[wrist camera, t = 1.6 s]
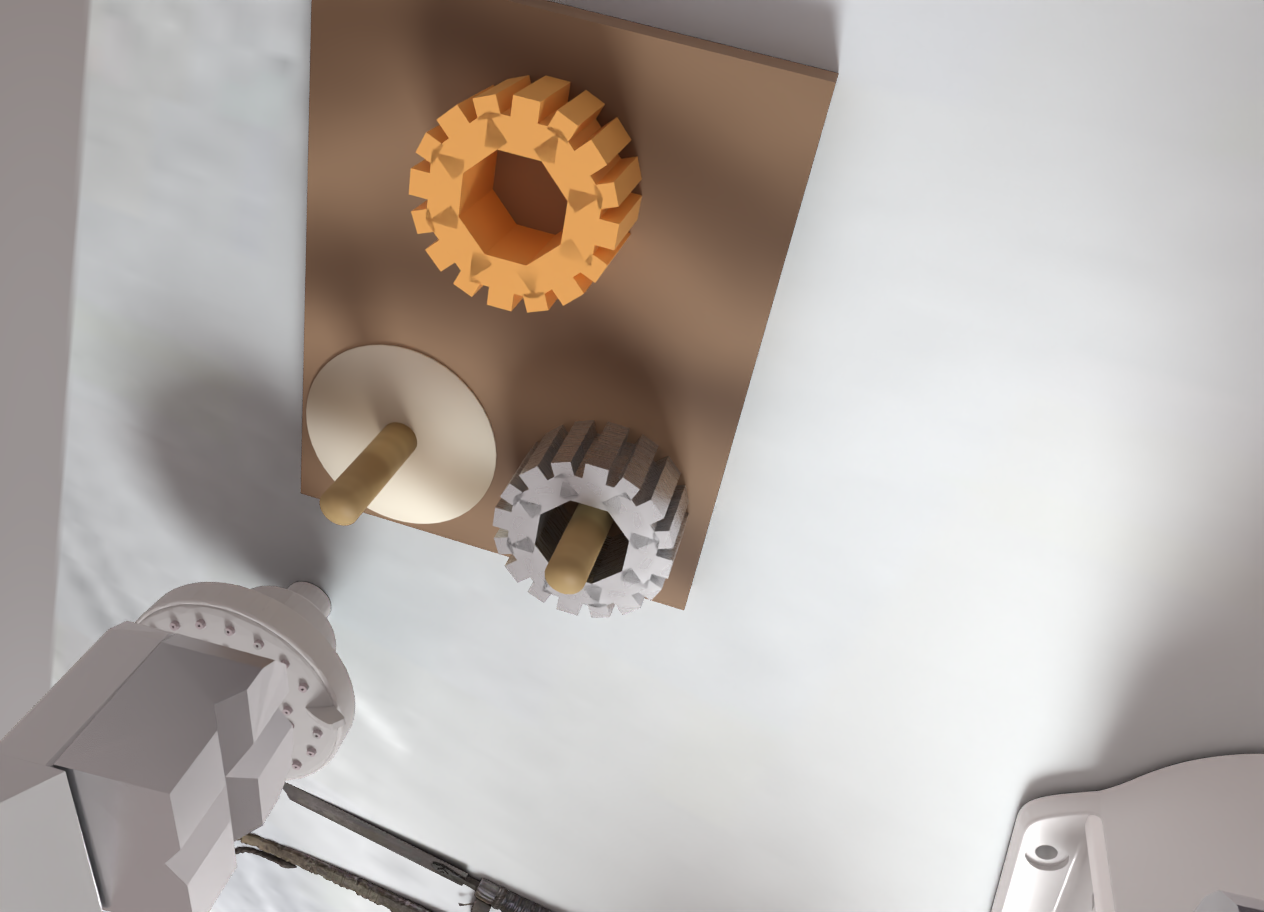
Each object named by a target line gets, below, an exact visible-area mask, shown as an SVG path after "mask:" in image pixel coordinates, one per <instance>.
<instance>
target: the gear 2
mask: <svg viewBox="0 0 1264 912" xmlns="http://www.w3.org/2000/svg"><path fill="white" fill-rule="evenodd" d="M629 429H630V428H629V427H626V426H622V425H619V424H615V423H612V422H607V424H606V426H605V428H604V430H603V432H602V434H598V433H597V431H596V426H595V422H594V420H589V421H575V423H574V425H573V426H572V428H571V430H570V432H569V433H568V431H567V430H566V428H565V427H564V426H563V425H561V426H559V427H557V428H555V429H553V430H551V431H550V432H548V433H546V434H545V435H544V437H543V438H542V440H541V442H540V443H538V442H536V443H535V444H534V446H533V447H532V448H531V450H530V451H529V452H528V454H527V455H526V457H525V458H524V460H523V462H522V463H521V465H520V466H519V468H518V469H517V471H516V472H515V474H514V476H513V477H512V479H511V480H510V482H509V483H508V485H507V486H506V488H505V490H504V491H503V493H502V494H501V496H500V497H501V499H500V501H499V502H498V504H497V505H496V507H495V512H494V519H493V526H495V527H498V528H500V529H499V530H498V532H497V533H496V535H495V537H494V540H495V543H496V547H497V550H498V553H499V554H511V556H510V557H509V559H508V561H507V563H506V564H505V567H506V568H507V570H508V571H509V572H510V574H511V575H512V576H513V577H514V579H515V580H516V581H517V583H518V582H520V581H522V580H525V579H527V578H529V577H531V579H532V580H533V583H532V585H531V587H530V589H529V591H528V592H529V593H530V594H532V595H533V596H535V597H536V598H538V599H539V600H540V601H542V602H543V603H544V602H545V601H546V600H547V598H548V597H549V596H550V595H551V594H552V595H556V596H559V599H558V604H557V609H558V610H561V611H564V612H568V613H571V614H574V615H577V616H578V613H579V611H580V609H581V607H582V604H585V605H588V607H589V611H590V615H591V617H610V615H611V613H612V610H613V608H614V605H616V607H617V608H618V609H619V611H620V612H621V613H622V615H624V614H626V613H629V612H631V611H634V610H636V609H639V608H641V606H642V603H643V600H644V598H645V597H646V598H648V599H649V600H650V601H651V600H652V599H653V598H654V597H655V596H656V595H657V594H658V593H659V592H660V590H661V589H662V587H663V584H664V581H665V578H667V579H668V577H669V574H670V571H671V568H672V565H673V562H674V559H675V556H676V553H677V550H678V547H679V544H680V542H681V539H682V536H683V533H684V529H685V526H686V522H687V518H688V515H689V513H685V511H686V509H687V506H688V503H689V500H688V495H687V490H686V485H677V482H678V479H679V477H680V474H681V473H680V471H679V470H678V468H677V467H676V465H675V464H674V462H673V461H672V459H671V458H670V456H667V457H665V458H663V459H660V460H658V461H656V462H655V461H654V460H653V458H654V456H655V453H656V451H657V449H658V446H659V445H657V444H656V443H654V442H653V441H652V440H650V439H649V438H647V437H646V436H645V435H643V434H642V436H641V437H640V438H639V439H638V441H637V442H636V443H635V444H632V443H629V442H627V438H628V433H629ZM676 485H677V486H676ZM570 500H571V501H574V502H578V503H581V504H584V505H588V506H591V507H595V508H598V509H601V510H605V511H608V512H609V514H610V515H611V517H612V518H613V519H614V521H615V522H616V524H617V525H618V526H619V528H620V529H621V530H622V533H620V534H618V535H615V536H613V537H612V536H608V535H607V537H606V539H605V541H604V543H603V545H602V548H601V550H600V552H599V554H598V557H597V559H596V561H595V563H594V566H593V568H592V570H591V572H590V575H589V577H588V579H587V581H586V583H585V586H584V588H583V589H582V590H581V591H580V592H578V593H575V594H563V593H560V592H558V591H556V590H554V589H553V588H552V587H551V586H550V585H549V584H548V583H547V581H546V579H545V569H546V567H547V565H548V563H549V561H550V559H551V557H552V555H553V553H554V551H555V549H556V547H557V545H558V543H559V541H560V539H561V537H562V535H563V533H564V531H565V529H566V528H567V526H568V524H569V522H570V520H571V518H572V516H571V515H570V514H569V512H568V511H567V509H566V508H565V507H564V505H563V504H564V503H566V502H568V501H570Z"/></svg>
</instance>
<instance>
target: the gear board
mask: <svg viewBox="0 0 1264 912" xmlns="http://www.w3.org/2000/svg"><path fill="white" fill-rule="evenodd" d="M838 74H839V73H835V72H831V71H827V70H823V69H819V68H815V67H811V66H807V65H803V64H799V63H795V62H791V61H787V60H783V59H779V58H775V57H771V56H767V55H763V54H759V53H755V52H751V51H747V50H743V49H739V48H735V47H731V46H727V45H723V44H719V43H715V42H711V41H707V40H703V39H699V38H695V37H691V36H687V35H683V34H679V33H675V32H671V31H667V30H663V29H659V28H655V27H651V26H647V25H643V24H639V23H635V22H631V21H627V20H623V19H619V18H615V17H611V16H607V15H603V14H599V13H595V12H591V11H587V10H583V9H579V8H575V7H571V6H567V5H563V4H559V3H555V2H551V1H547V0H312V6H311V51H310V96H309V141H308V187H307V232H306V277H305V323H304V368H303V413H302V458H301V494H305V495H308V496H311V497H314V498H318V499H320V508H321V510H322V512H323V514H324V515H325V516H326V517H327V518H328V519H329V520H330V521H332V522H333V523H335V524H338V525H344V526H346V525H350V524H353V523H354V522H355V521H356V520H357V519H358V517H359V516H360V515H361V514H362V513H363V512H364V513H367V514H370V515H373V516H377V517H380V518H383V519H387V520H390V521H393V522H396V523H400V524H403V525H406V526H409V527H413V528H416V529H419V530H423V531H426V532H429V533H432V534H436V535H439V536H442V537H445V538H449V539H452V540H455V541H459V542H462V543H465V544H468V545H472V546H475V547H478V548H481V549H485V550H488V551H491V552H495V553H498V550H497V547H496V543H495V540H494V537H495V535H496V533H497V532H498V530H499V529H500V528H498V527H495V526H493V519H494V512H495V507H496V505H497V504H498V502H499V501H500V499H501V497H500V496H501V494H502V493H503V491H504V490H505V488H506V486H507V485H508V483H509V482H510V480H511V479H512V477H513V476H514V474H515V472H516V471H517V469H518V468H519V466H520V465H521V463H522V462H523V460H524V458H525V457H526V455H527V454H528V452H529V451H530V450H531V448H532V447H533V446H534V444H535V443H536V442H538V443H540V442H541V440H542V438H543V437H544V435H545V434H546V433H548V432H550V431H551V430H553V429H555V428H557V427H559V426H561V425H563V426H564V427H565V428H566V430H567V431H568V433H569V432H570V430H571V428H572V426H573V425H574V423H575V421H589V420H594V422H595V426H596V431H597V433H598V434H602V432H603V430H604V428H605V426H606V424H607V422H612V423H615V424H619V425H622V426H626V427H629V428H630V429H629V433H628V438H627V442H629V443H632V444H635V443H636V442H637V441H638V439H639V438H640V437H641V436H642V434H643V435H645V436H646V437H647V438H649V439H650V440H652V441H653V442H654V443H656V444H657V445H659V446H658V449H657V451H656V453H655V456H654V458H653V460H654V461H655V462H656V461H658V460H660V459H663V458H665V457H667V456H670V458H671V459H672V461H673V462H674V464H675V465H676V467H677V468H678V470H679V471H680V473H681V474H680V477H679V479H678V482H677V485H686V490H687V495H688V500H689V503H688V506H687V509H686V511H685V513H689V515H688V518H687V522H686V526H685V529H684V533H683V536H682V539H681V542H680V544H679V547H678V550H677V553H676V556H675V559H674V562H673V565H672V568H671V571H670V574H669V577H668V579H667V578H665V581H664V584H663V587H662V589H661V590H660V592H659V593H658V594H657V595H656V596H655V597H654V598H653V599H652V601H655V602H658V603H662V604H665V605H668V606H671V607H675V608H678V609H681V610H684V608H685V605H686V602H687V598H688V595H689V592H690V588H691V585H692V582H693V578H694V575H695V571H696V568H697V564H698V561H699V557H700V554H701V550H702V547H703V543H704V540H705V536H706V533H707V529H708V526H709V522H710V519H711V515H712V512H713V509H714V505H715V502H716V498H717V495H718V491H719V488H720V484H721V481H722V477H723V474H724V470H725V467H726V463H727V460H728V456H729V453H730V449H731V446H732V442H733V439H734V435H735V432H736V429H737V425H738V422H739V418H740V415H741V411H742V408H743V404H744V401H745V397H746V394H747V390H748V387H749V383H750V380H751V376H752V373H753V369H754V366H755V362H756V359H757V355H758V352H759V349H760V345H761V342H762V338H763V335H764V331H765V328H766V324H767V321H768V317H769V314H770V310H771V307H772V303H773V300H774V296H775V293H776V289H777V286H778V282H779V279H780V275H781V272H782V269H783V265H784V262H785V258H786V255H787V251H788V248H789V244H790V241H791V237H792V234H793V230H794V227H795V223H796V220H797V216H798V213H799V209H800V206H801V202H802V199H803V195H804V192H805V189H806V185H807V182H808V178H809V175H810V171H811V168H812V164H813V161H814V157H815V154H816V150H817V147H818V143H819V140H820V136H821V133H822V129H823V126H824V122H825V119H826V115H827V112H828V109H829V105H830V102H831V98H832V95H833V91H834V88H835V84H836V81H837V77H838ZM527 75H529V76H530V81H531V84H532V83H534V82H535V81H537V80H539V79H540V78H542V77H544V76H545V75H546V76H550V77H554V78H557V79H561V80H565V81H569V82H571V84H570V90H569V97H568V102H570V101H571V100H572V99H574V98H575V97H577V96H578V95H579V94H581V93H582V92H584V91H585V90H587V91H588V92H590V93H591V94H592V95H594V96H595V97H596V98H598V99H599V100H600V101H602V102H603V103H604V104H605V105H604V107H603V108H602V110H601V111H600V113H599V115H598V116H597V118H596V120H597V121H598V123H599V124H600V126H601V127H603V126H604V125H606V124H607V123H609V122H610V121H612V120H613V119H615V118H616V117H618V119H619V121H620V122H621V124H622V125H623V127H624V129H625V130H626V132H627V133H628V135H629V137H630V138H631V141H630V142H629V143H628V144H627V145H626V146H625V147H624V148H623V149H622V150H621V151H620V152H619V153H618V155H619V156H620V158H621V159H623V158H629V157H636V156H638V161H639V167H640V172H641V177H642V179H641V181H640V182H639V183H638V184H637V185H636V187H635V188H634V189H633V190H632V191H631V193H635V194H638V195H642V199H641V203H640V208H639V213H638V218H637V221H636V222H635V223H634V225H633V226H632V227H631V229H630V230H629V231H628V232H629V233H630V236H629V237H628V239H627V240H626V242H625V243H624V244H623V246H622V247H621V249H620V250H619V252H618V253H617V254H616V256H615V257H614V258H613V260H612V261H611V262H610V264H609V265H608V266H607V268H606V269H605V270H604V272H603V273H602V275H601V276H600V277H599V279H598V280H597V281H596V283H594V282H592V284H591V285H590V286H589V288H588V289H587V290H586V292H585V293H584V294H583V295H581V296H579V297H578V298H576V299H574V300H572V301H571V302H569V303H567V304H566V305H564V306H563V305H562V303H561V302H560V300H559V299H557V300H556V301H555V303H554V304H553V305H552V306H551V308H550V309H549V310H547V311H537V312H528V313H527V310H526V306H525V302H524V298H523V299H522V300H521V301H520V302H519V303H518V304H517V306H516V307H515V308H514V309H513V310H512V311H508V310H504V309H501V308H497V307H494V306H490V305H487V299H488V291H489V287H488V286H484V285H483V286H482V287H481V288H480V289H479V290H478V291H477V292H476V293H475V294H474V295H473V296H472V297H471V296H470V295H468V294H467V293H465V292H464V291H463V290H461V289H460V288H458V287H457V286H456V285H454V284H453V283H454V281H455V280H456V278H457V276H458V275H459V273H460V271H461V270H460V269H459V267H458V266H457V265H456V263H453V264H452V265H450V266H449V267H447V268H446V269H444V270H443V271H440V270H439V269H438V267H437V266H436V264H435V263H434V262H433V260H432V259H431V257H430V256H429V255H428V253H427V252H426V250H425V249H426V248H428V247H429V246H430V245H431V244H433V243H434V242H435V241H436V240H438V238H437V236H436V235H435V234H434V232H429V233H421V234H417V230H416V227H415V224H414V220H413V217H412V213H411V211H412V210H414V209H415V208H416V207H418V206H419V205H421V204H422V203H423V202H425V201H426V200H428V199H424V198H420V197H417V196H413V195H409V184H410V170H411V168H412V167H413V166H415V165H416V164H418V163H420V162H421V161H423V160H425V159H424V158H423V157H421V156H420V155H419V154H417V153H416V150H417V148H418V147H419V145H420V143H421V141H422V139H423V137H424V135H425V133H426V132H428V131H429V130H431V129H433V128H435V127H436V126H438V125H440V124H439V123H438V121H437V119H438V118H439V117H441V116H442V115H443V114H445V113H446V112H447V111H449V110H450V109H452V108H453V107H454V106H456V105H457V104H459V103H461V102H463V101H464V100H466V99H468V98H470V97H472V96H474V95H475V94H477V93H479V92H481V91H483V90H485V89H486V88H488V87H490V86H492V85H494V86H496V85H498V84H500V83H501V82H503V81H505V80H507V79H510V78H516V77H521V76H527ZM493 190H494V192H495V193H496V195H497V196H498V198H499V199H500V201H501V202H502V203H503V205H504V206H505V208H506V209H507V211H508V212H509V214H510V215H511V217H512V218H513V220H514V221H515V223H516V224H517V225H521V226H525V227H528V228H532V229H536V230H539V231H543V232H547V233H550V234H554V235H556V234H557V233H559V232H561V231H562V230H563V227H564V221H565V215H566V209H567V202H568V201H567V200H566V198H565V196H564V195H563V193H562V192H561V190H560V189H559V187H558V186H557V184H556V183H555V181H554V180H553V178H552V177H551V175H550V174H549V172H548V171H547V169H546V167H545V166H544V164H543V163H542V161H539V160H535V159H531V158H528V157H524V156H520V155H516V154H512V153H509V152H505V151H501V150H498V151H497V159H496V167H495V176H494V184H493ZM677 485H676V486H677ZM563 505H564V507H565V508H566V509H567V511H568V512H569V514H570V515H571V516H572V518H571V520H570V522H569V524H568V526H567V528H566V529H565V531H564V533H563V535H562V537H561V539H560V541H559V543H558V545H557V547H556V549H555V551H554V553H553V555H552V557H551V559H550V561H549V563H548V565H547V567H546V569H545V579H546V581H547V583H548V584H549V585H550V586H551V587H552V588H553V589H554V590H556V591H558V592H560V593H563V594H575V593H578V592H580V591H581V590H582V589H583V588H584V586H585V583H586V581H587V579H588V577H589V575H590V572H591V570H592V568H593V566H594V563H595V561H596V559H597V557H598V554H599V552H600V550H601V548H602V545H603V543H604V541H605V539H606V537H607V535H608V536H612V537H613V536H615V535H618V534H620V533H622V530H621V529H620V528H619V526H618V525H617V524H616V522H615V521H614V519H613V518H612V517H611V515H610V514H609V512H608V511H605V510H601V509H598V508H595V507H591V506H588V505H584V504H581V503H578V502H574V501H571V500H570V501H568V502H566V503H564V504H563ZM498 554H499V553H498ZM501 555H504V556H508V557H510V556H511V554H501ZM645 599H648V598H646V597H645Z"/></svg>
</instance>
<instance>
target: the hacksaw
mask: <svg viewBox="0 0 1264 912" xmlns="http://www.w3.org/2000/svg"><path fill="white" fill-rule="evenodd" d="M283 790H284V791H285V792H286V793H287V795H288V797H289V798H290V800H292V801H294V802H296V803H298V804H300V805H302V806H304V807H306V808H308V809H310V810H312V811H314V812H316V813H318V814H320V815H322V816H324V817H326V818H328V819H330V820H332V821H334V822H336V823H338V824H340V825H342V826H344V827H346V828H348V829H350V830H352V831H354V832H356V833H358V834H360V835H362V836H363V837H365V838H367V839H369V840H371V841H373V842H375V843H377V844H379V845H381V846H383V847H385V848H387V849H389V850H391V851H393V852H395V853H397V854H399V855H401V856H403V857H405V858H407V859H409V860H411V861H413V862H415V863H417V864H419V865H421V866H423V867H425V868H427V869H429V870H431V871H433V872H435V873H437V874H439V875H441V876H443V877H445V878H447V879H449V880H451V881H453V882H455V883H457V884H459V885H461V886H462V885H463V884H465V885H467V886H468V887H470V888H472V889H473V890H475V896H476V900H475V902H474V903H469V904H461V903H459V906H464V905H472V904H473V906H472V909H471V912H489V911H490V908H491V906H492V907H493V908H494V909H500V910H501V912H552V911H550V910H547V909H546V908H544V907H542V906H540V905H538V904H536V903H534V902H532V901H530V900H527V899H525V898H523V897H521V896H519V895H517V894H515V893H513V892H510V891H508V890H507V889H506V888H504V887H500V886H498V885H496V884H494V883H492V882H491V881H489V880H487V879H484V878H483V879H482V880H481V881H480V882H479V881H477V880H475V879H473V878H471V877H469V876H467V875H468V873H466V872H464V871H462V870H460V869H458V868H456V867H454V866H452V865H450V864H448V863H447V862H444V861H442V860H440V859H438V858H436V857H434V856H432V855H430V854H428V853H426V852H424V851H422V850H420V849H418V848H415V847H414V846H412V845H410V844H408V843H406V842H404V841H402V840H400V839H398V838H396V837H394V836H392V835H390V834H389V833H386V832H384V831H382V830H380V829H378V828H376V827H374V826H372V825H371V824H368V823H367V822H364V821H362V820H360V819H358V818H357V817H354V816H353V815H350V814H348V813H346V812H345V811H343V810H340V809H339V808H336V807H335V806H332V805H331V804H328V803H327V802H325V801H322V800H321V799H318V798H317V797H314V796H313V795H310V794H308V793H307V792H304V791H303V790H300V789H299V788H296V787H295V786H292V785H291V784H288V783H286V782H285V783H284V786H283ZM238 840H241V843H245V844H249V845H251V846H257V847H258V848H259V849H260V850H262V851H259V850H256V849H254V848H249V847H238V848H237V849H235V854H239V853H244V852H247V853H253V854H255V855H260V856H261V857H263V858H266V859H268V860H270V861H273V862H275V863H277V864H279V865H280V866H281V867H283V868H297V866H295V865H298V866H300V867H301V868H303V869H305V870H307V871H309V872H311V873H314V874H319V875H321V876H323V877H324V878H325V879H326V880H329V881H332V882H333V883H334V884H339V886H340V887H345V888H346V889H351V890H353V891H355V892H356V894H357V895H361V896H362V897H363V898H365V899H369V900H370V901H372V902H374V903H376V904H377V905H383V906H385V907H387V908H388V909H390V910H391V912H431V911H430V910H425V909H424V908H423V907H422V906H420V905H418V904H415V903H413V902H411V901H410V900H407V899H404V898H403V897H399V896H398V895H396V894H394V893H393V892H390V891H387V890H384V889H383V888H381V887H379V886H377V885H374V884H373V883H369V882H368V881H367V880H364V879H362V878H359V877H358V876H356V875H353V874H350V873H348V872H346V871H345V870H342V869H340V868H338V867H335V866H333V865H331V864H328V863H326V862H324V861H321V860H319V859H316V858H314V857H312V856H309V855H306V854H304V853H301V852H299V851H296V850H294V849H291V848H288V847H285V846H282V845H280V844H278V843H275V842H272V841H269V840H266V839H264V838H261V837H259V836H257V835H253V834H250V833H248V834H247V835H245V836H243V837H241V838H240V839H238ZM263 851H264V852H263ZM268 853H271V854H273V855H271V854H268ZM274 855H275V856H274ZM276 856H277V857H276Z"/></svg>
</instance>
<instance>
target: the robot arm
mask: <svg viewBox="0 0 1264 912" xmlns="http://www.w3.org/2000/svg"><path fill="white" fill-rule="evenodd" d="M288 692H289V685H288V677H287V670H286V664H283V663H281V662H278V661H276V660H273V659H269V658H266V657H262V656H258V655H255V654H251V653H247V652H244V651H240V650H236V649H233V648H229V647H225V646H222V645H218V644H214V643H211V642H207V641H204V640H200V639H196V638H193V637H189V636H185V635H182V634H178V633H177V634H176V633H172V632H169V631H165V630H161V629H157V628H153V627H150V626H146V625H142V624H138V623H134V622H131V621H125V622H123V623H121V624H119V625H117V626H115V627H112V628H110V629H109V630H108V631H106V632H105V633H104V634H103V635H102V636H101V637H100V638H99V640H98V641H97V642H96V643H95V644H94V645H93V646H92V647H91V648H90V649H89V650H88V651H87V652H86V653H85V654H84V655H83V656H82V657H81V658H80V659H79V660H78V661H77V662H76V663H75V664H74V665H73V666H72V667H71V668H70V669H69V670H68V672H67V673H66V674H65V675H64V676H63V677H62V678H61V679H60V680H59V681H58V682H57V683H56V684H55V685H54V686H53V687H52V688H51V689H50V690H49V691H48V692H47V693H46V694H45V695H44V696H43V697H42V699H40V701H38V702H37V704H36V705H35V706H34V707H33V708H32V709H31V710H30V711H29V712H28V713H27V714H26V715H25V716H24V717H23V718H22V719H21V720H20V721H19V722H18V723H17V724H16V725H15V726H14V727H13V729H11V731H9V732H8V733H7V735H6V736H5V737H4V738H3V739H2V740H1V741H0V912H103V910H106V911H110V912H209V911H210V910H211V908H212V906H213V905H214V903H215V902H216V900H217V898H218V897H219V895H220V894H221V892H222V890H223V889H224V887H225V886H226V884H227V882H228V881H229V879H230V878H231V876H232V874H233V873H234V871H235V870H236V868H237V862H236V854H235V847H234V841H236V840H238V839H240V838H241V837H243V836H245V835H247V834H248V833H250V832H252V831H254V830H255V829H257V828H259V827H261V826H263V824H264V823H265V821H266V819H267V818H268V816H269V814H270V813H271V811H272V809H273V807H274V806H275V804H276V802H277V801H278V799H279V797H280V794H281V791H282V789H283V786H284V783H285V780H286V778H287V775H288V772H289V770H290V766H291V759H292V752H293V745H294V742H293V727H292V724H291V723H290V722H289V720H288V719H287V718H286V717H285V715H284V714H283V713H282V712H281V710H280V709H279V708H278V707H279V705H280V704H281V702H282V701H283V699H284V698H285V696H286V695H287V693H288ZM991 912H1264V754H1237V755H1224V756H1216V757H1209V758H1203V759H1197V760H1192V761H1187V762H1183V763H1179V764H1175V765H1172V766H1168V767H1165V768H1162V769H1159V770H1156V771H1153V772H1150V773H1148V774H1145V775H1143V776H1140V777H1138V778H1135V779H1133V780H1130V781H1128V782H1125V783H1123V784H1120V785H1117V786H1114V787H1111V788H1108V789H1104V790H1100V791H1091V792H1078V793H1067V794H1058V795H1051V796H1045V797H1041V798H1037V799H1034V800H1032V801H1029V802H1028V803H1026V804H1025V805H1024V806H1023V807H1022V808H1021V809H1020V811H1019V813H1018V815H1017V819H1016V822H1015V826H1014V830H1013V833H1012V837H1011V841H1010V844H1009V848H1008V852H1007V855H1006V859H1005V863H1004V866H1003V870H1002V874H1001V877H1000V881H999V885H998V888H997V892H996V896H995V899H994V903H993V907H992V910H991Z"/></svg>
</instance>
